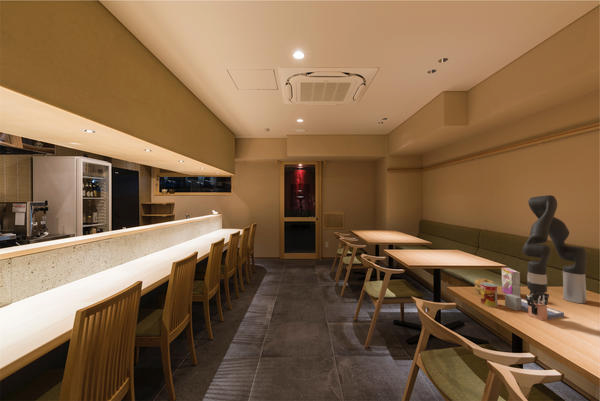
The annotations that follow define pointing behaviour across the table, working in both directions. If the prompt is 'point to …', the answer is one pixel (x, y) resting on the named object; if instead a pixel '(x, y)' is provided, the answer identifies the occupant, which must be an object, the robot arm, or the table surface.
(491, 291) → the canned food
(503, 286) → the candy bar box
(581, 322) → the table surface
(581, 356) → the table surface
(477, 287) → the pot
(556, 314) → the ticket slab
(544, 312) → the stub terracotta
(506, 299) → the stub grey
